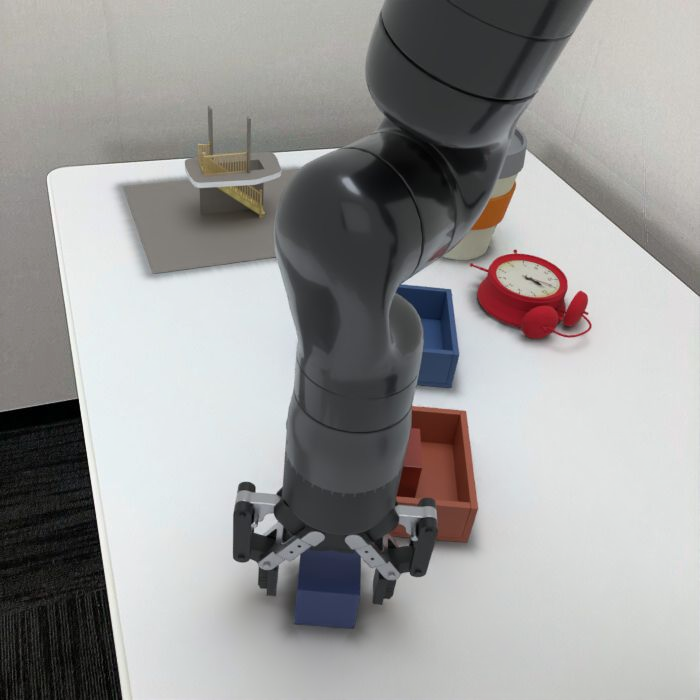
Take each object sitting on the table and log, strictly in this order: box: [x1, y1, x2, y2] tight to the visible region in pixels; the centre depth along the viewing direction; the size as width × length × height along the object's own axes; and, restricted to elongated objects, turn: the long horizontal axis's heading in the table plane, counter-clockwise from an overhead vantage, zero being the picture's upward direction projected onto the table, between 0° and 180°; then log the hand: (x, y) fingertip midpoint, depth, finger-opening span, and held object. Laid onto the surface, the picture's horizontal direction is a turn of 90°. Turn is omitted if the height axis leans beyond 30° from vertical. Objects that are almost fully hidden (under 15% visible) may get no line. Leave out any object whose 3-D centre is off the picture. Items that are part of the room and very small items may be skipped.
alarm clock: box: [469, 249, 593, 340], centre depth 89 cm, size 10×6×15 cm
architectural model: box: [122, 105, 300, 275], centre depth 96 cm, size 21×25×14 cm
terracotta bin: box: [389, 405, 479, 543], centre depth 67 cm, size 13×11×4 cm
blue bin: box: [396, 283, 460, 389], centre depth 82 cm, size 13×11×4 cm
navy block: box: [293, 548, 362, 629], centre depth 58 cm, size 4×4×4 cm
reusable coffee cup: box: [441, 126, 528, 261], centre depth 96 cm, size 13×13×15 cm
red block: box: [397, 428, 422, 498], centre depth 67 cm, size 4×4×4 cm
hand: (325, 589), depth 59 cm, fingers open, 7 cm apart
